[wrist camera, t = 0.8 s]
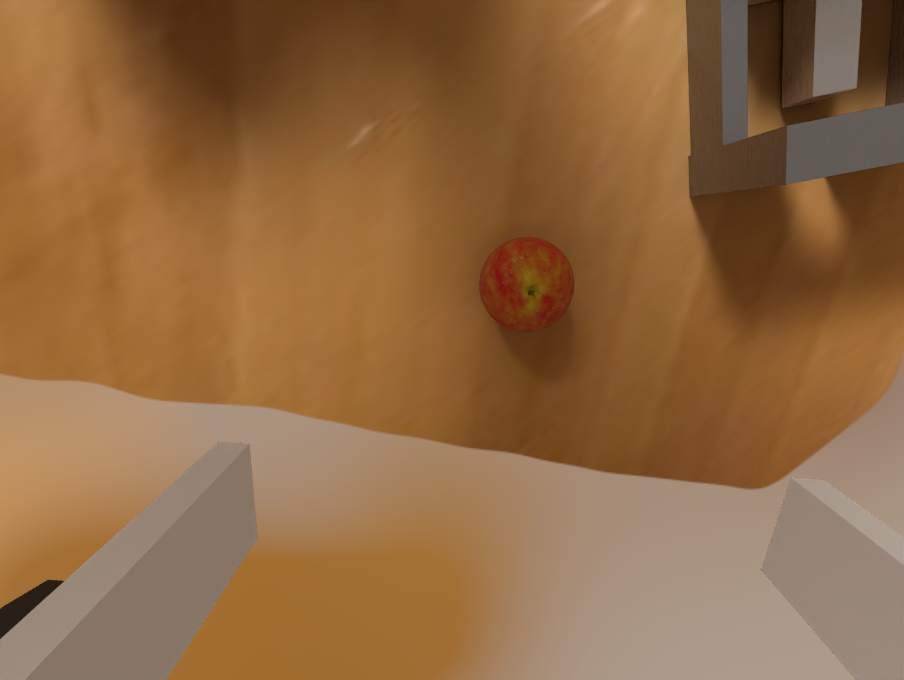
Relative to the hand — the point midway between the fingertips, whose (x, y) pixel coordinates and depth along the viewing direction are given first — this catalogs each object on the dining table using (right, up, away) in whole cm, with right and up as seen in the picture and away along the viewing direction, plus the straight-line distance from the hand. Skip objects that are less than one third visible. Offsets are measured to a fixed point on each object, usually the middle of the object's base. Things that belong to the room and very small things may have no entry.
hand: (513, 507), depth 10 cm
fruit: (+4, +9, +25) cm, 27 cm away
